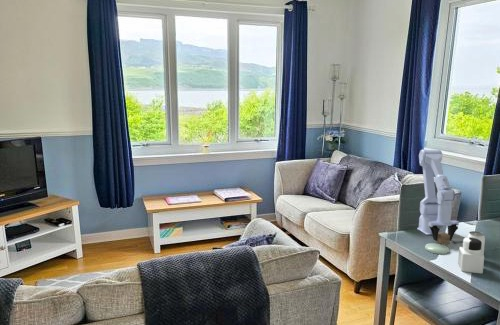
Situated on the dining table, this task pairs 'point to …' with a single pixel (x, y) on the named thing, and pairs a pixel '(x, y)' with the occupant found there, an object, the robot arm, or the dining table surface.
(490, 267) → the dining table surface
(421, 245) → the dining table surface
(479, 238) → the can
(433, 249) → the sage dish
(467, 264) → the container
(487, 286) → the dining table surface
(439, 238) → the walnut block
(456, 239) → the slate coaster
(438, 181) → the robot arm
